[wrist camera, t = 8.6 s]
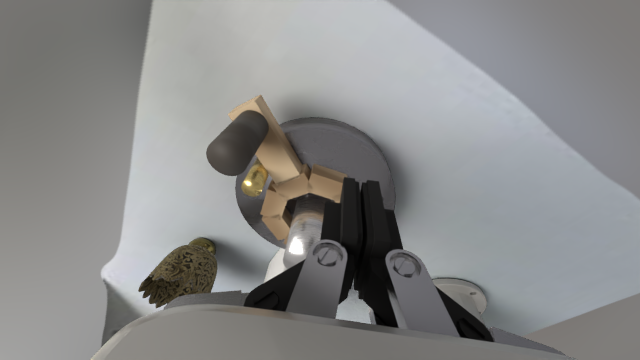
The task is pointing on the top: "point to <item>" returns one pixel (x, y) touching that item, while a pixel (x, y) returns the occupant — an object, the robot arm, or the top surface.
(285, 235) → the wrench
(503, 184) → the top surface
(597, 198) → the top surface
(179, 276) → the cup
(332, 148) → the post base
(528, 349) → the robot arm
